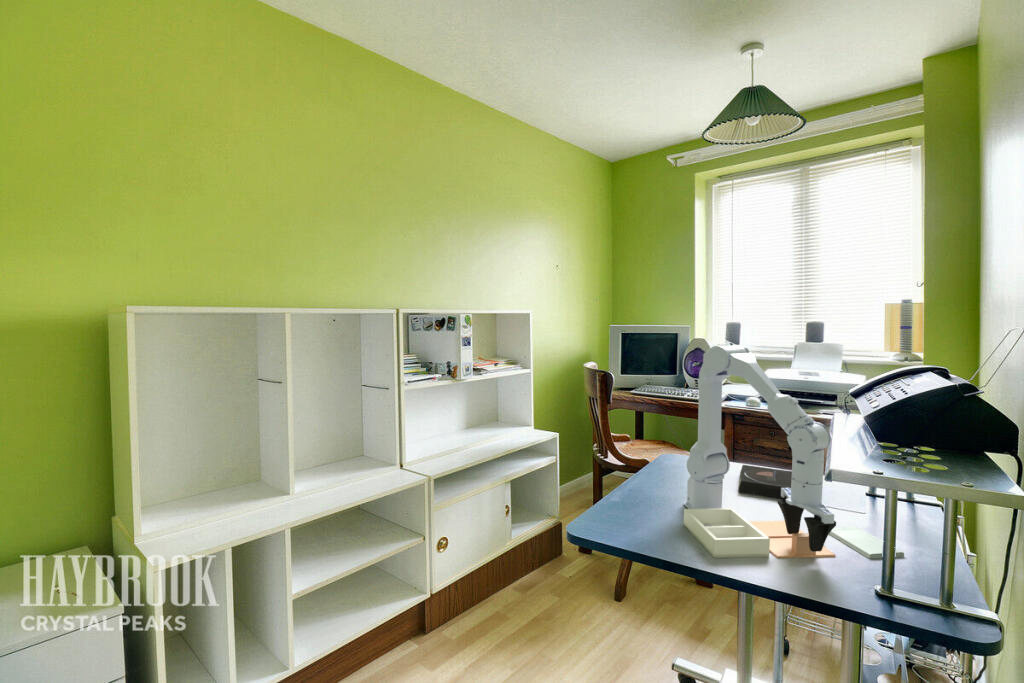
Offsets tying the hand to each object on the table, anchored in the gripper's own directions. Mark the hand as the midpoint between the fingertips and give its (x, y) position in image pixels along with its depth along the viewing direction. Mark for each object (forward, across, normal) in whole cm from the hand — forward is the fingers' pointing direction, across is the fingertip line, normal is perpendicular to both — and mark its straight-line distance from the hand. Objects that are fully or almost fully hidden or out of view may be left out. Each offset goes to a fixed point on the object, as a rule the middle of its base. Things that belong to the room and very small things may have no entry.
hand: (803, 541), depth 106 cm
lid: (+3, -7, 0) cm, 8 cm away
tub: (+3, -7, -14) cm, 16 cm away
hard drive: (+4, -4, +17) cm, 18 cm away
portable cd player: (+3, -38, +16) cm, 42 cm away
